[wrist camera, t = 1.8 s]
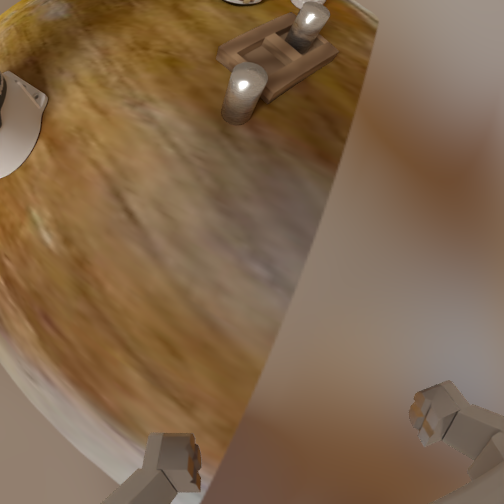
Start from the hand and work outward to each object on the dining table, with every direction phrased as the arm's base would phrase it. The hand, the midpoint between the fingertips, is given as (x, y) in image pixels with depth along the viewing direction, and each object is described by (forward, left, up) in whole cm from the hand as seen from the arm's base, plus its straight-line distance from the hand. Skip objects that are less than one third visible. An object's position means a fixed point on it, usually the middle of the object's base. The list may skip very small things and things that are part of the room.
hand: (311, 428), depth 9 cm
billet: (-19, +22, -32) cm, 43 cm away
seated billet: (-23, +41, -30) cm, 56 cm away
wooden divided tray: (-23, +36, -32) cm, 53 cm away
